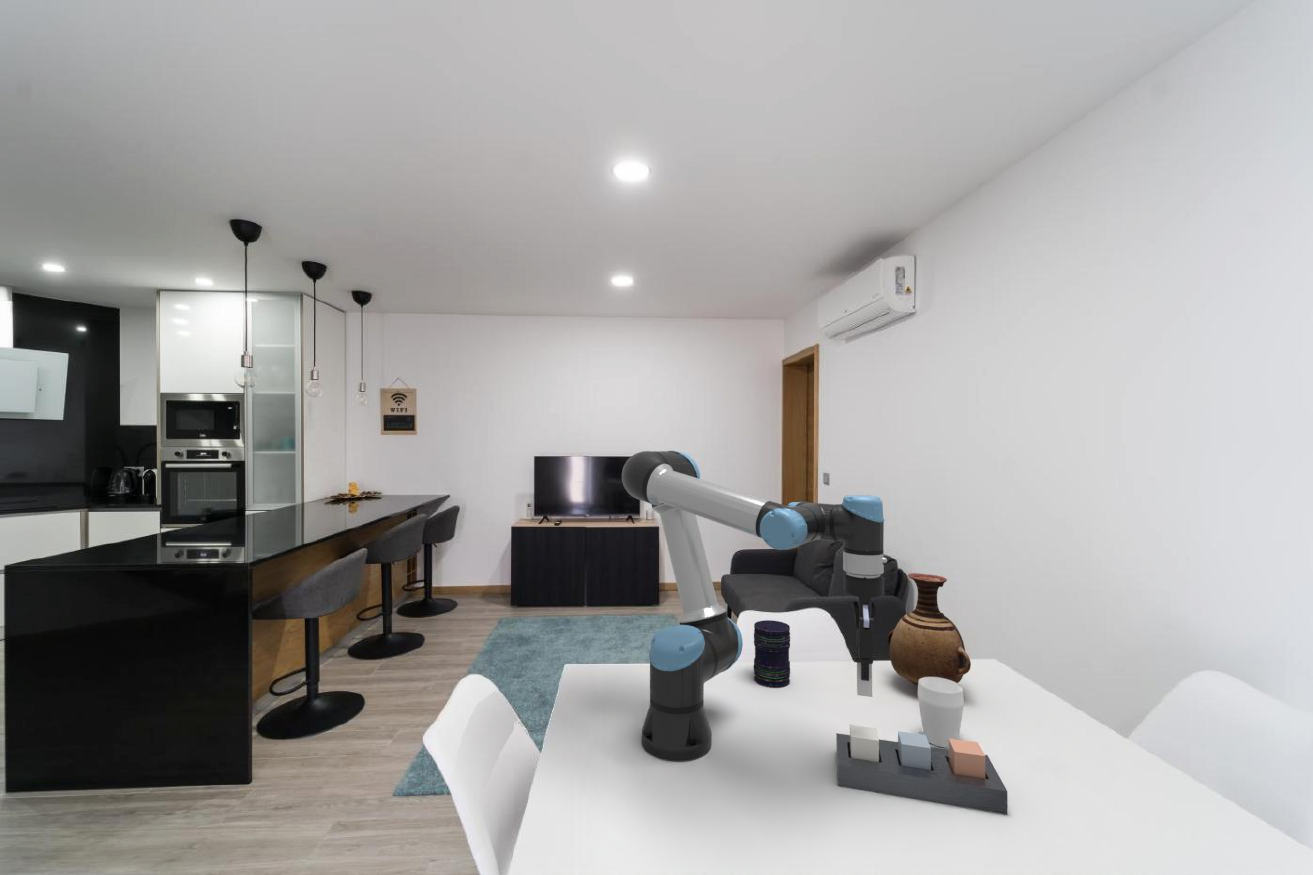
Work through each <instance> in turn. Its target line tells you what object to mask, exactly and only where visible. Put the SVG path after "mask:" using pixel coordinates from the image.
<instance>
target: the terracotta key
mask: <svg viewBox="0 0 1313 875" xmlns="http://www.w3.org/2000/svg"><path fill="white" fill-rule="evenodd" d="M948 749H949V766H950V769H951V771H952V774H957V775H964V776H970V777H977V778H983V779H985V755H986V754H984V753H985V752H984V751H983V750H982V748H981V746H980V744H979V742H977V741H970V740H964V739H950V738H949V748H948Z"/></svg>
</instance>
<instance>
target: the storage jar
mask: <svg viewBox="0 0 1313 875" xmlns="http://www.w3.org/2000/svg"><path fill="white" fill-rule="evenodd" d="M753 625H754V626H753V627H754V628H753V629H754V630H753V631H754V632H753V645H754V658H753V674H754V676H753V681H754V682H755V683H756V684H757V685H759V686H762V687H765V688H771V689H780V688H785V687H788V686H789V685H790V683H791V682H790V681H791V679H790V676H791V675H790V674H791V662H790V648H791V633H790V631H791V630H790V629H791V626H790V625H789V624H788V623H785V622H783V621H778V620H772V619H771V620H770V619H766V620H759V621H756V622H754V624H753Z"/></svg>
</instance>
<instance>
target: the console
mask: <svg viewBox="0 0 1313 875" xmlns="http://www.w3.org/2000/svg"><path fill="white" fill-rule="evenodd" d="M835 734H836V737H835V738H836V740H835V741H836V750H835V751H836V768H837V785H838V787H842V788H848V789H849V788H850V789H853V790H854V789H855V790H859V791H866V792H872V793H878V794H884V795H890V796H896V797H902V798H907V799H908V798H909V799H913V800H918V801H920V800H921V801H926V802H932V803H938V804H943V805H949V806H953V807H954V806H956V807H960V808H967V809H973V810H979V811H984V812H990V813H995V814H1001V815H1002V814H1003V815H1009V814H1008V808H1009V807H1008V806H1009V805H1008V803H1009V802H1008V789H1007V788H1006V785H1005V784H1004V783H1003V780H1002V778H1000V775H999V773H998V772H997V770H996V768H995V767H994V764H993V763H992V761H991V759H990V757H989V756H988V754H984V755H985V779H983V778H977V777H970V776H964V775H957V774H952V771H951V769H950V766H949V748H943V747H937V746H936V747H934V746H930V748H931V770H925V769H919V768H912V767H906V766H900V762H899V758H898V741H893V740H887V739H879V738H878V739H879V762H874V761H867V760H861V759H854V758H851V756H850V734H845V733H844V734H843V733H835Z"/></svg>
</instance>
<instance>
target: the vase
mask: <svg viewBox="0 0 1313 875" xmlns="http://www.w3.org/2000/svg"><path fill="white" fill-rule="evenodd" d="M907 577H908V578H909V579H911V580H913V581H914V583H915V584H916V588H917V601H916V606H915V609H914V610H912V611H910V612H907V613H906V614H904V615H903V616H902V617H901V618H900V619H899V621H898V622H897V624H896V626H895V628H894V629H893V630H891V631H890V632H889V633H888V634H887V637H886V638H887V639H886V640H887V641H886V642H887V644H888V647H889V659H890V664H891V667H892V668H893V670H894V671H895V673H896V674H897V675H898V676H900V677H901V678H903V679H904V680H906V681H907V682H910V683H911V684H913V685H915V686H916V687H918V681H919V679H920V678H923V677H939V678H944V679H948V680H951V681H954V682H956V683H958V684H959V683H960V682H961V680H962V679H963V677H964V676H965V675H966V674H968V673H969V672H970V670H971V664H972V663H971V659H970V657H969V655H968V653H967V652H966V648H965V643H964V640H963V637H962V635H961V632H960V630H959V629H958V627H957V626H956V625H955V623H954V622H953V621H952V620H951V619H949V618H948V616H945V614H944V613H943V612H941V610H940V608H939V606H938V605H939V604H938V590H939V588H943V587H944V584H945V583H946V582H947V581H948V580H947V578H946V577H944V576H941V575H936V574H935V575H934V574H926V573H917V572H916V573H914V572H913V573H909V574H907Z"/></svg>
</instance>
